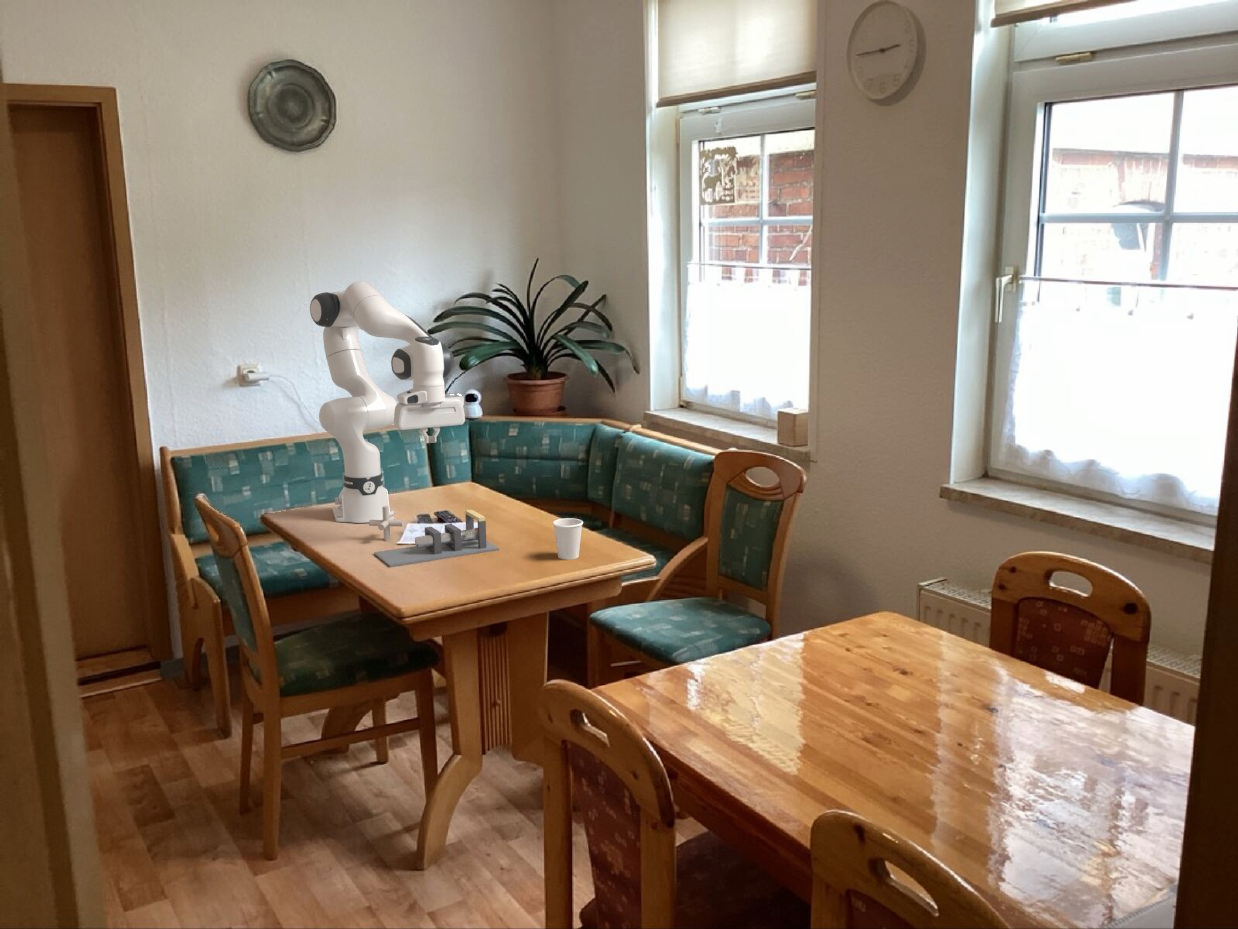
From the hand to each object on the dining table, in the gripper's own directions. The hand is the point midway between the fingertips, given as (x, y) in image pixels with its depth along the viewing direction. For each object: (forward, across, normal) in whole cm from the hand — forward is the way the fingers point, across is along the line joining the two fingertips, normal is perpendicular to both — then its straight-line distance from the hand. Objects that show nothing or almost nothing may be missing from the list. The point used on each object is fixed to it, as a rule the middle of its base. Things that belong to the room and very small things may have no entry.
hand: (430, 442), depth 306 cm
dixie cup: (+29, -28, +32) cm, 52 cm away
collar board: (+30, +3, +10) cm, 31 cm away
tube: (+28, -1, +10) cm, 30 cm away
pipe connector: (+30, +11, -10) cm, 34 cm away
